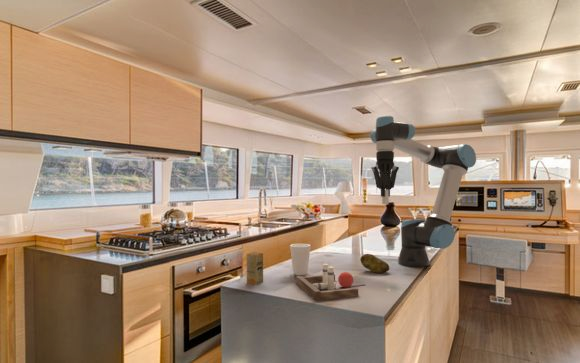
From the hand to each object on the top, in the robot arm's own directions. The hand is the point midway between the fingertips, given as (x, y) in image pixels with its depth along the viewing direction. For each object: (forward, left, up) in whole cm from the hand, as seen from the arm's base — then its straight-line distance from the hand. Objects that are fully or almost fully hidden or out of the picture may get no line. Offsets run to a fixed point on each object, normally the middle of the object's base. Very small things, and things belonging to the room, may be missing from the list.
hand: (385, 204), depth 151 cm
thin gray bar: (+19, +8, -32) cm, 38 cm away
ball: (+24, +8, -29) cm, 39 cm away
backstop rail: (+32, +8, -32) cm, 46 cm away
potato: (0, -10, -33) cm, 34 cm away
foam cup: (+34, -18, -33) cm, 50 cm away
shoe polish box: (+57, -10, -33) cm, 66 cm away
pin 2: (+31, +11, -32) cm, 46 cm away
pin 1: (+31, +6, -32) cm, 45 cm away
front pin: (+28, +8, -31) cm, 43 cm away
